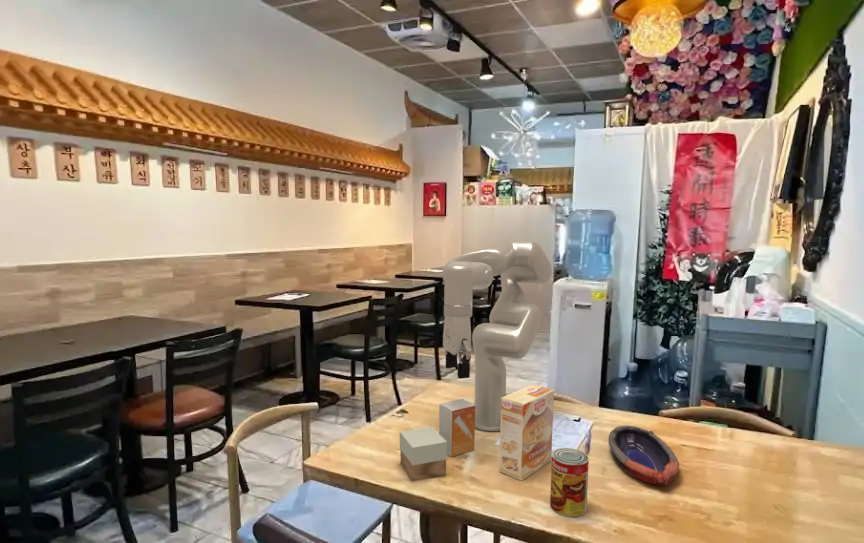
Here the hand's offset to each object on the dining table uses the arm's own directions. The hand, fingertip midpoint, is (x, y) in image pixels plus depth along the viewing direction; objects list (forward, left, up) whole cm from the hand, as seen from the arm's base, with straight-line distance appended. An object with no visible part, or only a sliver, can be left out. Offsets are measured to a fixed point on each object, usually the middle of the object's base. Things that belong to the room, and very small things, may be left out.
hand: (457, 372), depth 141 cm
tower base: (+12, +8, -22) cm, 26 cm away
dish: (-44, +21, -22) cm, 54 cm away
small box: (0, 0, -22) cm, 22 cm away
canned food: (-14, +34, -22) cm, 43 cm away
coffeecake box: (-14, +14, -22) cm, 30 cm away
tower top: (+12, +8, -18) cm, 23 cm away
